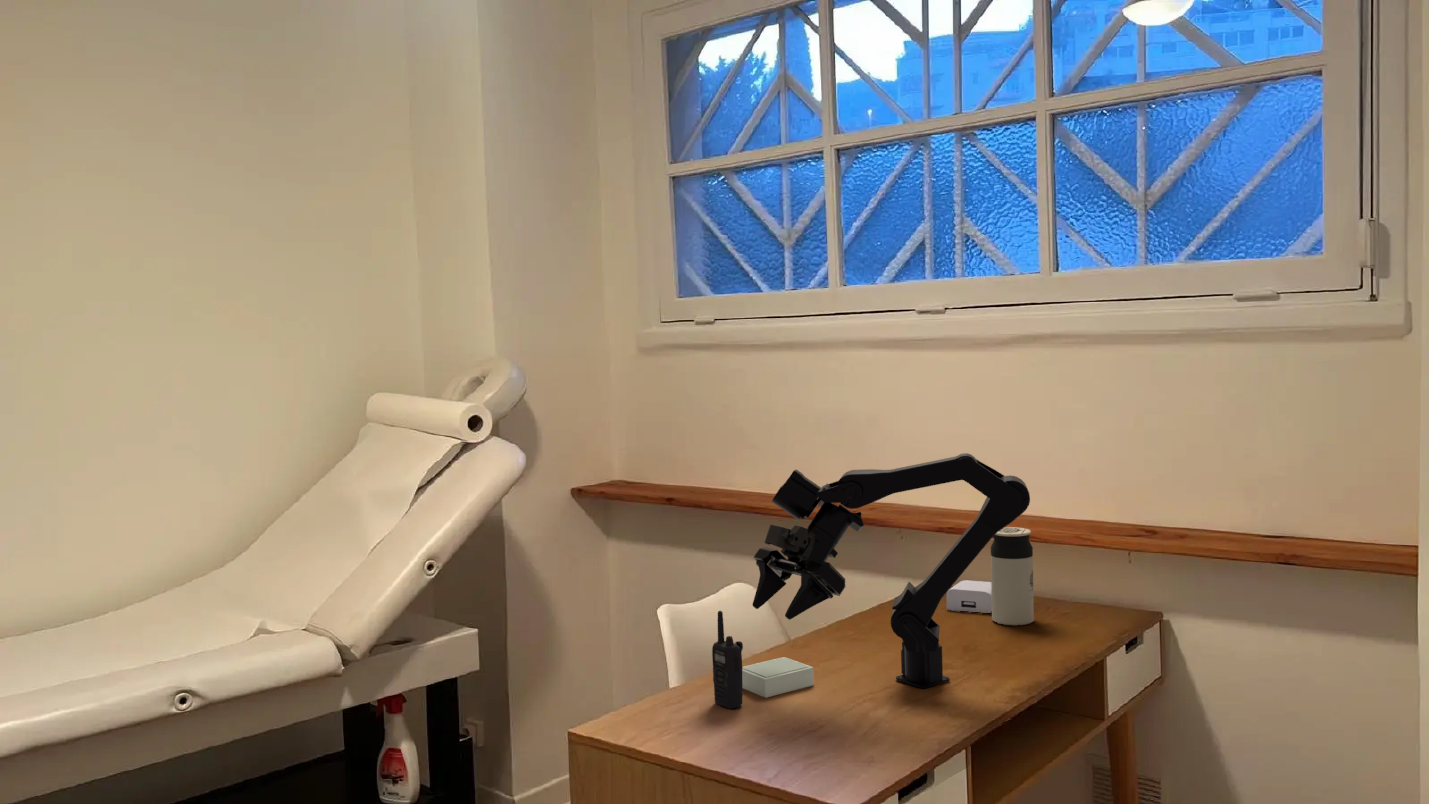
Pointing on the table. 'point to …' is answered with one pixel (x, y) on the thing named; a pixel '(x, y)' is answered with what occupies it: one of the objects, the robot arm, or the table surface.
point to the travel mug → (1012, 577)
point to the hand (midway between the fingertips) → (770, 612)
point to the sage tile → (776, 677)
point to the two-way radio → (727, 669)
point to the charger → (970, 597)
